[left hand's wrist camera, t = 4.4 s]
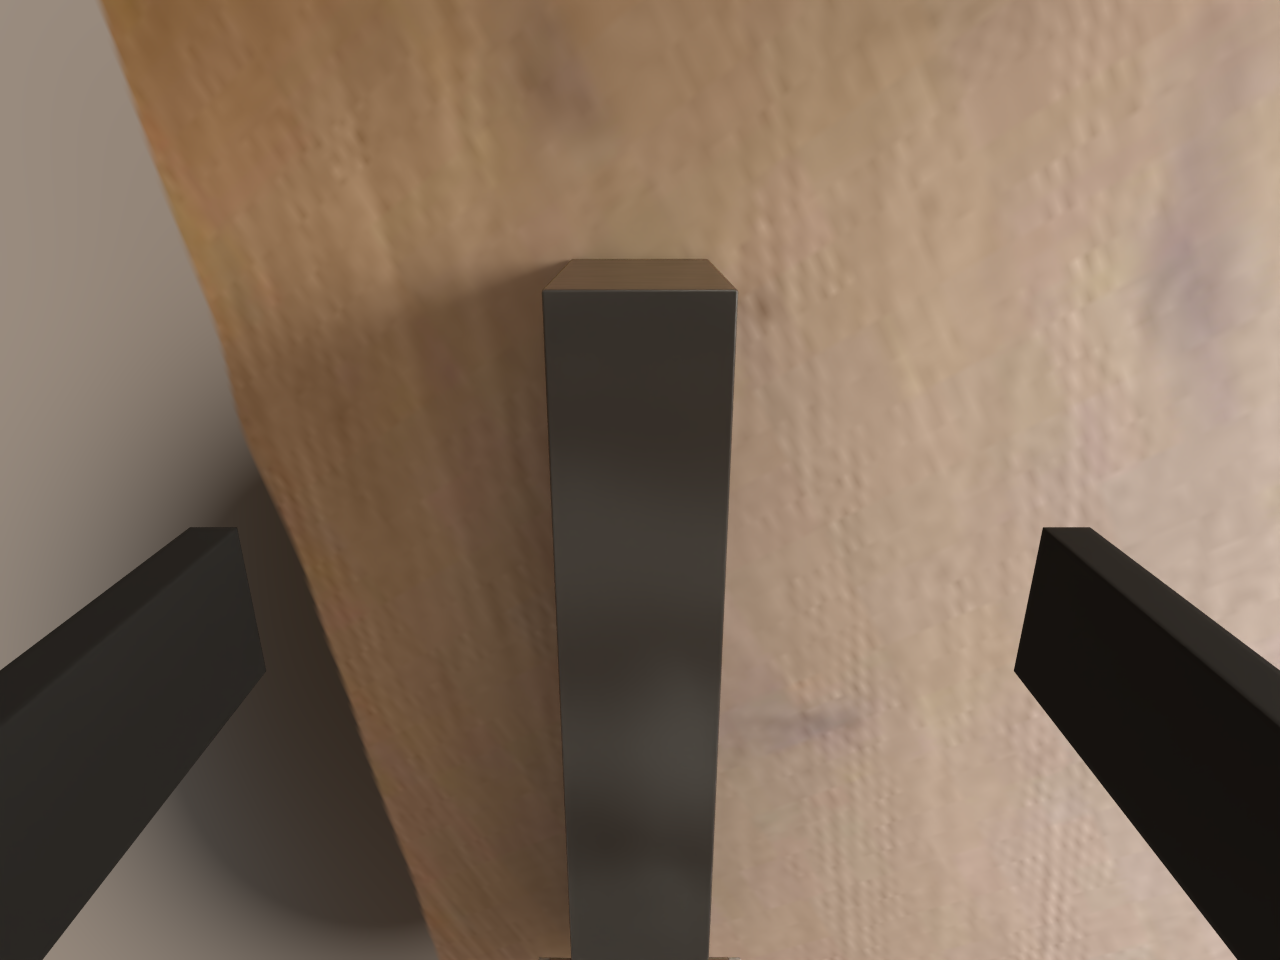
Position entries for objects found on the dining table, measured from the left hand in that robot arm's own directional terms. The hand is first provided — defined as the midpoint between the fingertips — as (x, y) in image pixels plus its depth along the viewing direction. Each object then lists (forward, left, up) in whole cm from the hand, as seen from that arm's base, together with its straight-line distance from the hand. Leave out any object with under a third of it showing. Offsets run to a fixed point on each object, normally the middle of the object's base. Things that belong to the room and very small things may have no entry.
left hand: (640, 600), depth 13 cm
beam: (+13, 0, -18) cm, 22 cm away
